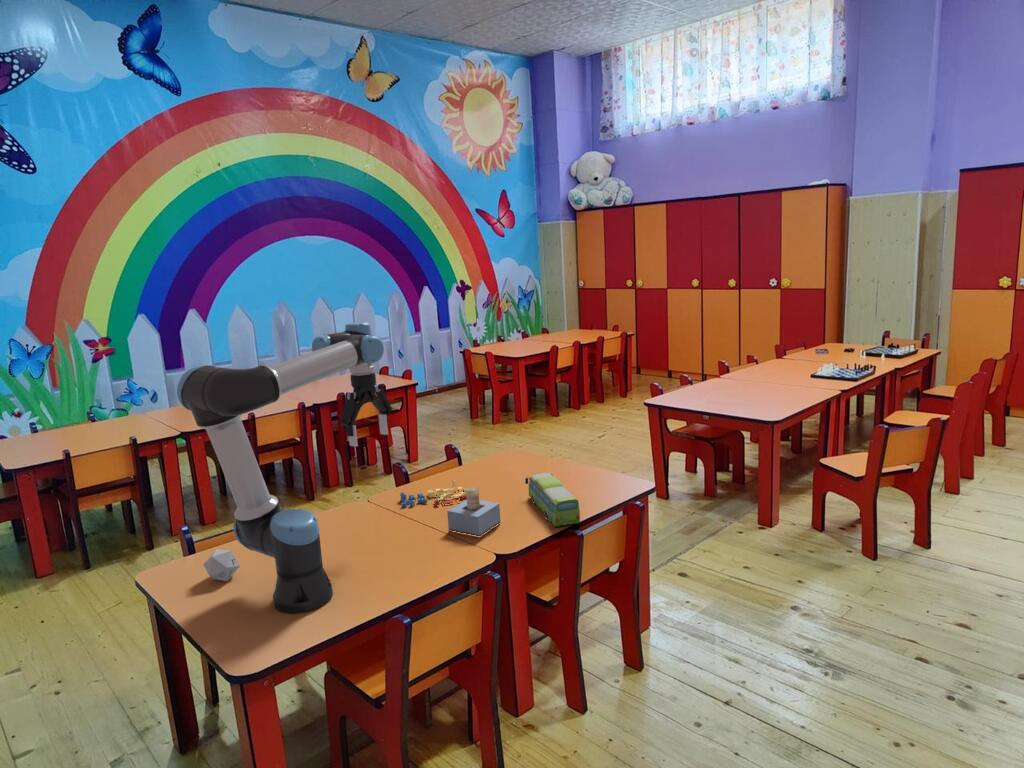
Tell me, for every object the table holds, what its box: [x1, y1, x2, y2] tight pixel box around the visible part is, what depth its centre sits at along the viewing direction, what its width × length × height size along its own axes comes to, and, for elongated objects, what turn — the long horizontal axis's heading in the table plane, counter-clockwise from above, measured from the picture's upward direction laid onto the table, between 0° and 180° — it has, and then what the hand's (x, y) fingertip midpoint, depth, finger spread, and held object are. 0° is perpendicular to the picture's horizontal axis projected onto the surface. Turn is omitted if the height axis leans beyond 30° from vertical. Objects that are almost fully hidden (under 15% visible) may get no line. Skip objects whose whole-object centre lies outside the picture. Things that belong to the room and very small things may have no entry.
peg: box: [465, 486, 480, 512], centre depth 224 cm, size 4×4×12 cm
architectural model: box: [399, 478, 468, 509], centre depth 253 cm, size 45×14×5 cm, turn 110°
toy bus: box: [524, 472, 581, 528], centre depth 234 cm, size 10×31×10 cm, turn 15°
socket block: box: [446, 499, 501, 536], centre depth 224 cm, size 12×12×7 cm
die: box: [202, 548, 241, 582], centre depth 199 cm, size 8×9×10 cm
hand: (369, 440), depth 217 cm, fingers open, 13 cm apart
